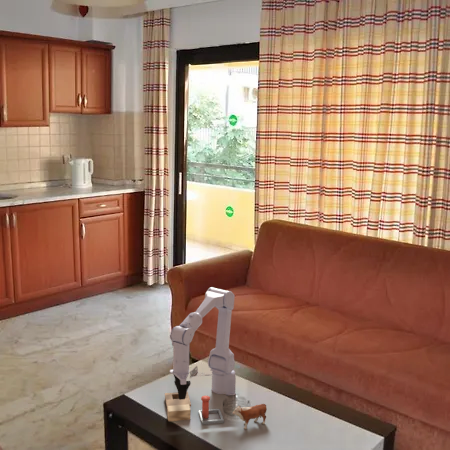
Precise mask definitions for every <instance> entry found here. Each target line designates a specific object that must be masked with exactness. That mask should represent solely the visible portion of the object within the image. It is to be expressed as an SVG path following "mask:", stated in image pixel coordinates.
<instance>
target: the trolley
mask: <svg viewBox="0 0 450 450" xmlns="http://www.w3.org/2000/svg"><path fill="white" fill-rule="evenodd" d="M164 398H165V403H166V404H165V405H166V407H167V406H173V405H186V404H189V406H190V407H192V403H191V400H190V396H189V392H188V391H187V394H186V398H185V399H181V400H179V396H178V391H177V392H165V393H164Z"/></svg>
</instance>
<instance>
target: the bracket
mask: <svg viewBox="0 0 450 450" xmlns="http://www.w3.org/2000/svg"><path fill="white" fill-rule="evenodd" d="M198 371H199V370H198V365H196V366H194V367H193V368H192V369H191V370H190V372H189V374H190V375H189V376H190V377H191V378H192V377H194V376H195V375H197V373H198ZM205 376H212V373H205V372H204V373H203V372H202V373H201V374H199V375H198V377H205Z"/></svg>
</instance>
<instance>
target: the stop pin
mask: <svg viewBox="0 0 450 450" xmlns="http://www.w3.org/2000/svg"><path fill="white" fill-rule="evenodd" d="M200 399H201V401H202V402H201V404H202V405H201V410H202V417H203V419H205V420H206V419H208V418H209V414H210V413H209V408H210V401H211V396H209V395H202V396H201V397H200Z"/></svg>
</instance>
